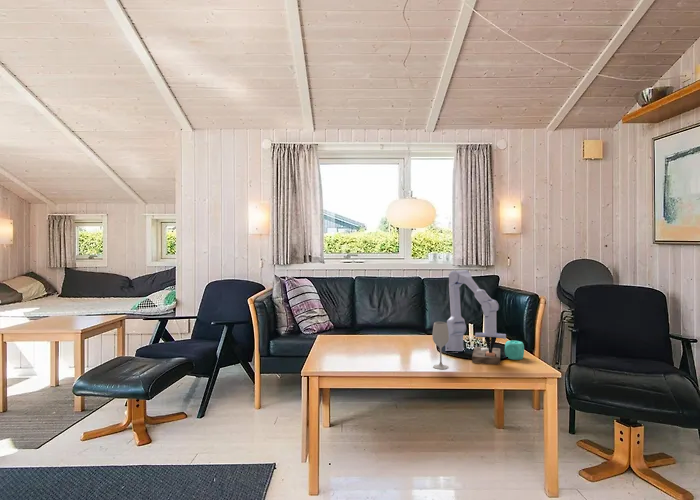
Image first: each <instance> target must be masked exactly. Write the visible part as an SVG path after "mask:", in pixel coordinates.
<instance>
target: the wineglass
mask: <svg viewBox="0 0 700 500" xmlns="http://www.w3.org/2000/svg"><path fill="white" fill-rule="evenodd" d="M431 335H432V341H433V343H434V344H435V346H437V347H438V348H439V364H434V365H433V366H432V367H433V369H437V370H447V368H448V369H449V366H448V365H446V364H443V361H442V358H443V356H442V353H443V352H442V350H443V348H444V347H445V345H446V344H447V342H448V340H449V332H448V326H447V321H446V322H445V321H435V322H434V323H433V326H432V334H431Z"/></svg>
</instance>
